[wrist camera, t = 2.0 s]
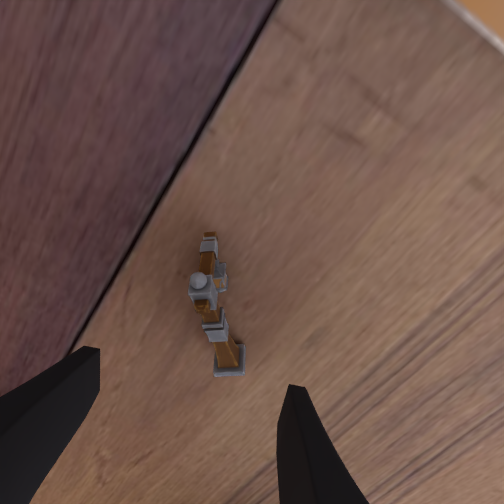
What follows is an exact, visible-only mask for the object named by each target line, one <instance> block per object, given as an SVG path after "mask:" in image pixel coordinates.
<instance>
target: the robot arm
mask: <svg viewBox="0 0 504 504" xmlns="http://www.w3.org/2000/svg"><path fill="white" fill-rule="evenodd" d="M99 391H100V349H98V348H93V347H88V346H83V347H81V348H80V349H78V350H77V351H75V352H73V353H72V354H70V355H69V356H67V357H66V358H64V359H62V360H61V361H59V362H58V363H56V364H55V365H53V366H52V367H50V368H48V369H47V370H45V371H44V372H42V373H40V374H39V375H37V376H36V377H34V378H32V379H31V380H29V381H27V382H26V383H24V384H22V385H21V386H19V387H17V388H15V389H14V390H12V391H10V392H8V393H7V394H5V395H3V396H2V397H0V504H29V503H30V501H31V499H32V498H33V496H34V494H35V493H36V491H37V489H38V488H39V486H40V485H41V483H42V481H43V480H44V478H45V477H46V476H47V474H48V473H49V471H50V470H51V468H52V467H53V465H54V464H55V462H56V461H57V459H58V458H59V456H60V455H61V453H62V452H63V450H64V449H65V448H66V446H67V445H68V443H69V442H70V440H71V439H72V437H73V436H74V434H75V433H76V431H77V430H78V428H79V427H80V425H81V424H82V422H83V421H84V419H85V418H86V416H87V414H88V412H89V410H90V408H91V407H92V405H93V403H94V401H95V399H96V397H97V395H98V393H99ZM276 454H277V470H278V485H279V500H280V504H369V503H368V501H367V500H366V498H365V497H364V495H363V494H362V492H361V491H360V489H359V488H358V486H357V485H356V483H355V482H354V480H353V478H352V477H351V475H350V474H349V472H348V470H347V469H346V467H345V465H344V464H343V462H342V460H341V458H340V457H339V455H338V453H337V451H336V450H335V448H334V446H333V444H332V442H331V440H330V438H329V436H328V434H327V433H326V431H325V429H324V427H323V425H322V423H321V421H320V418H319V416H318V414H317V412H316V410H315V408H314V406H313V403H312V401H311V399H310V396H309V394H308V392H307V390H306V388H305V387H301V386H296V385H291V384H289V386H288V389H287V393H286V396H285V399H284V403H283V406H282V410H281V413H280V417H279V420H278V424H277V451H276Z"/></svg>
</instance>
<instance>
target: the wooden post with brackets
mask: <svg viewBox="0 0 504 504" xmlns="http://www.w3.org/2000/svg"><path fill="white" fill-rule="evenodd" d="M217 242H218V237H217V234H216V232H206V233H204V238H203V242H201V247H200V254H201V260H200V266H199V272H195V273H193V274H192V275H191V277H190V284H189V290H188V295H189V296H190V297H191V300H192V302H193V304H194V308H195V311H196V312H197V313H198V314H201V315H202V326H203V328H204V332H205V333H206V334H207V336H208V338H209V342H213V344H214V347H215V359H214V369H213V373H214V377H218V376H241V375H245V352H246V346H244V344H235V343H234V341H233V339H232V338H231V336H230V335H229V333H228V329H229V324H228V323H227V321H226V318H225V313H224V309H223V307H219V305H218V302H217V295H218V292H220V293H221V292H223V291H225V290H227V286H228V276H227V275H226V274H225V270H226V263H219V260H217V257H218V247H217V246H218V243H217Z"/></svg>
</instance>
